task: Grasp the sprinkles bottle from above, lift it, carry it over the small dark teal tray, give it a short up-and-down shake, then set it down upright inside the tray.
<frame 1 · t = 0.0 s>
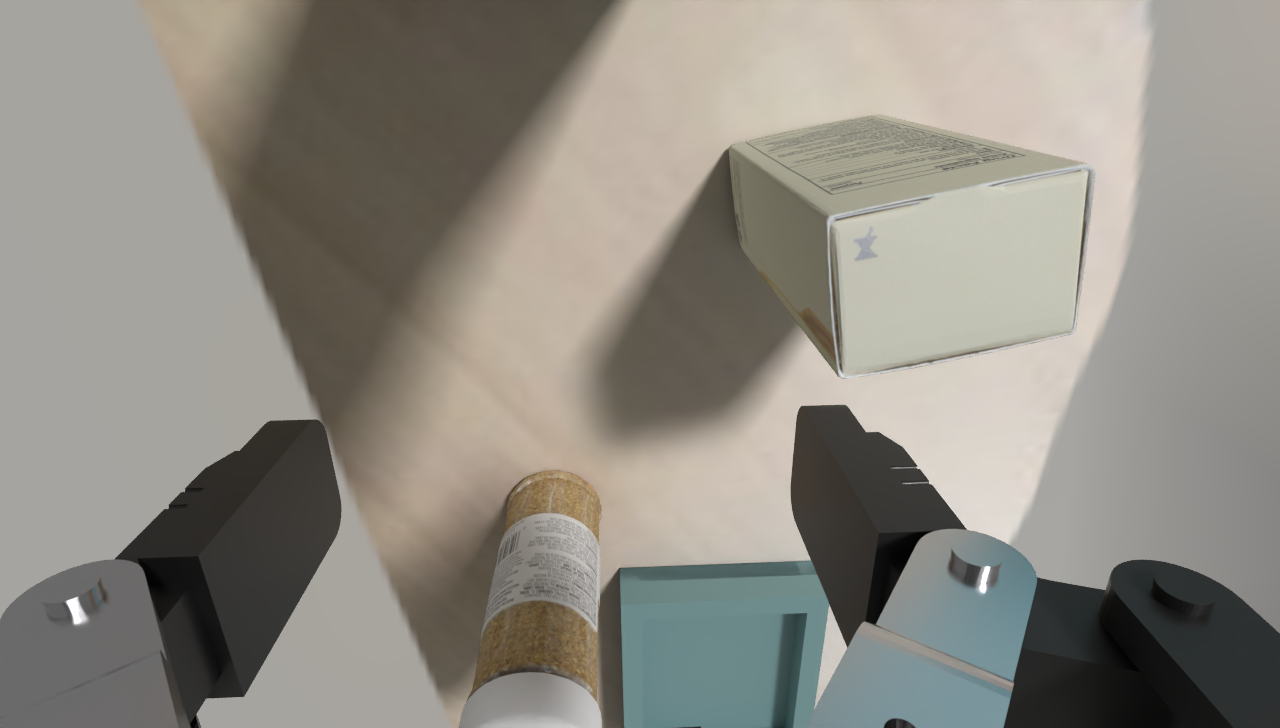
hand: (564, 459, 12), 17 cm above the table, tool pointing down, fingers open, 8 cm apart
skincare box: (811, 181, 27), on the table
tray: (713, 650, 38), on the table
sprinkles bottle: (555, 502, 33), on the table
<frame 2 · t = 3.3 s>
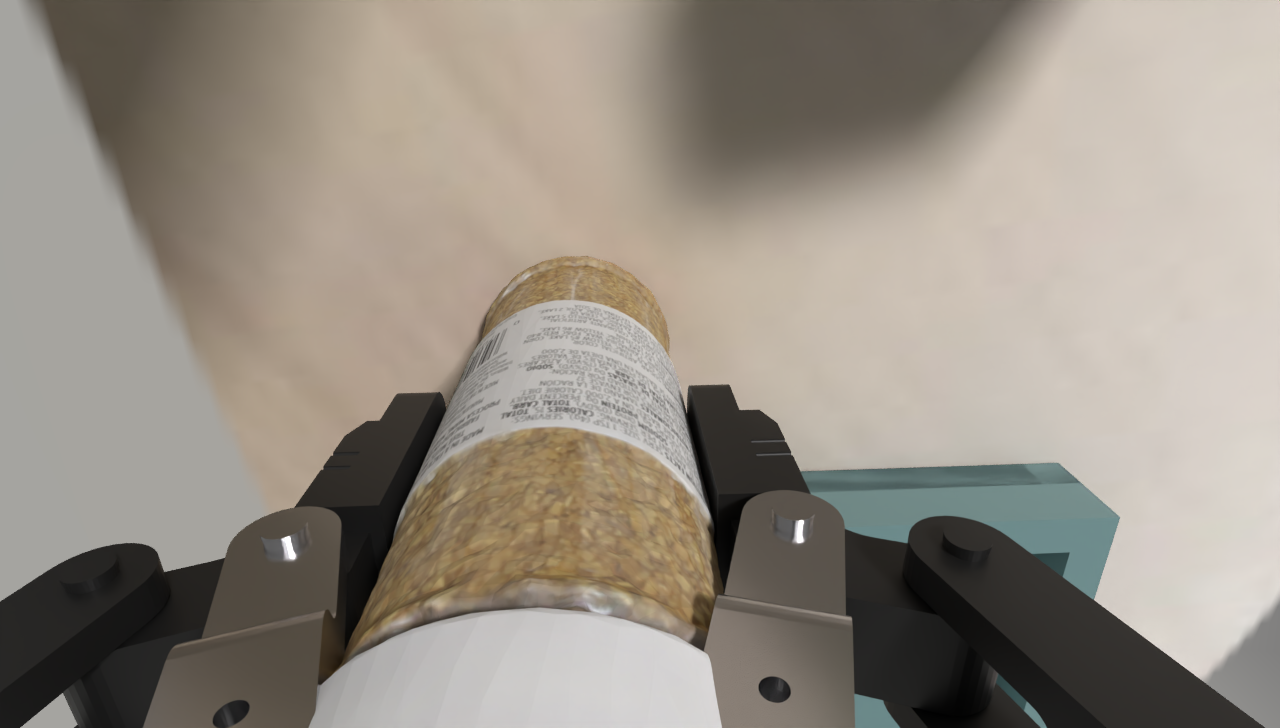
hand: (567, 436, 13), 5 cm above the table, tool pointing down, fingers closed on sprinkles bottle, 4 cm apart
tray: (854, 636, 21), on the table
sprinkles bottle: (578, 336, 17), on the table, touching gripper
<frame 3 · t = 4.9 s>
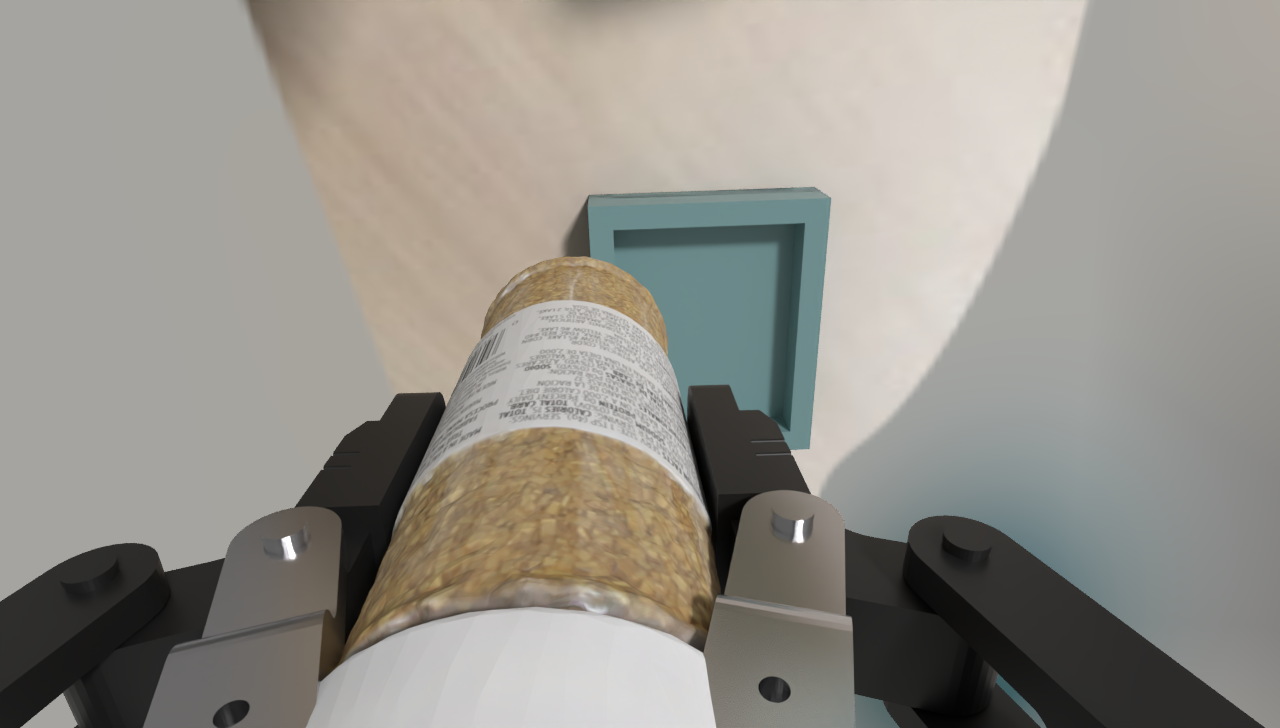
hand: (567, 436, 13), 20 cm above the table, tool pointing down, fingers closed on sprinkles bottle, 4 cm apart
tray: (700, 318, 33), on the table
sprinkles bottle: (576, 336, 17), point 15 cm above the table, touching gripper
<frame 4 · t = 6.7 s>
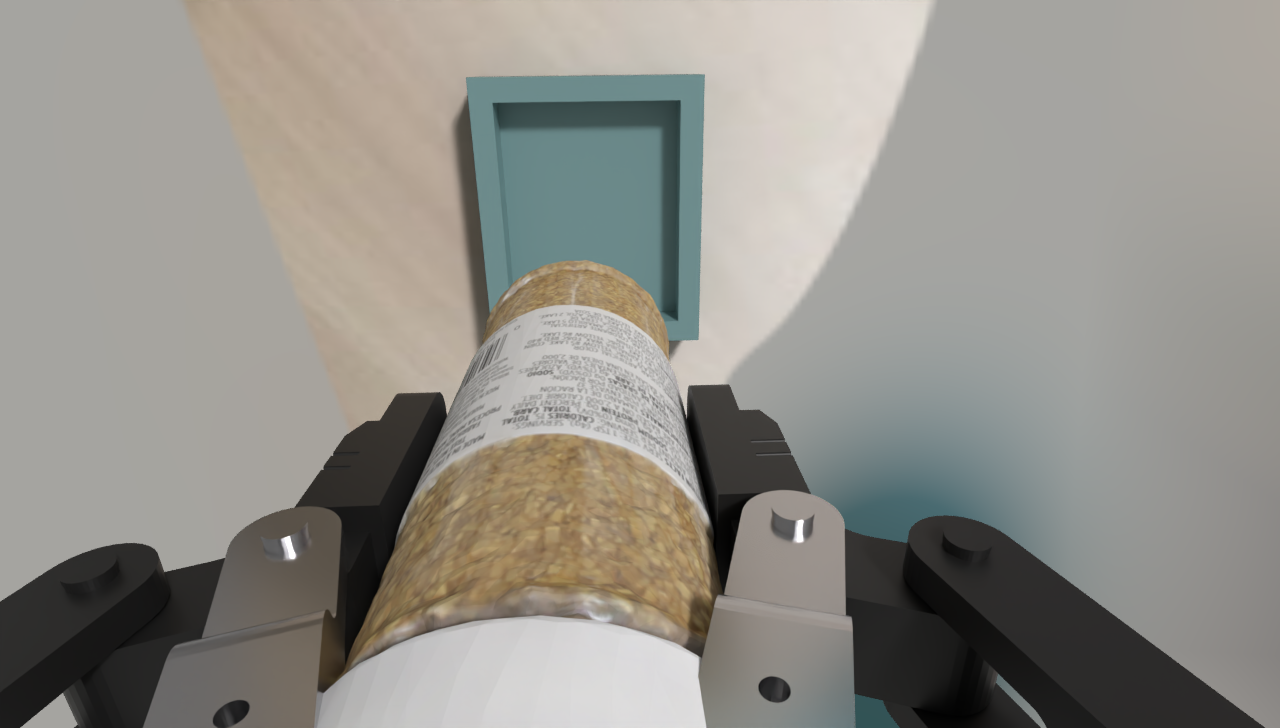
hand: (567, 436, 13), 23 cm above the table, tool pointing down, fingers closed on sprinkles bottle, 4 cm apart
tray: (592, 209, 34), on the table
sprinkles bottle: (578, 340, 17), point 18 cm above the table, touching gripper
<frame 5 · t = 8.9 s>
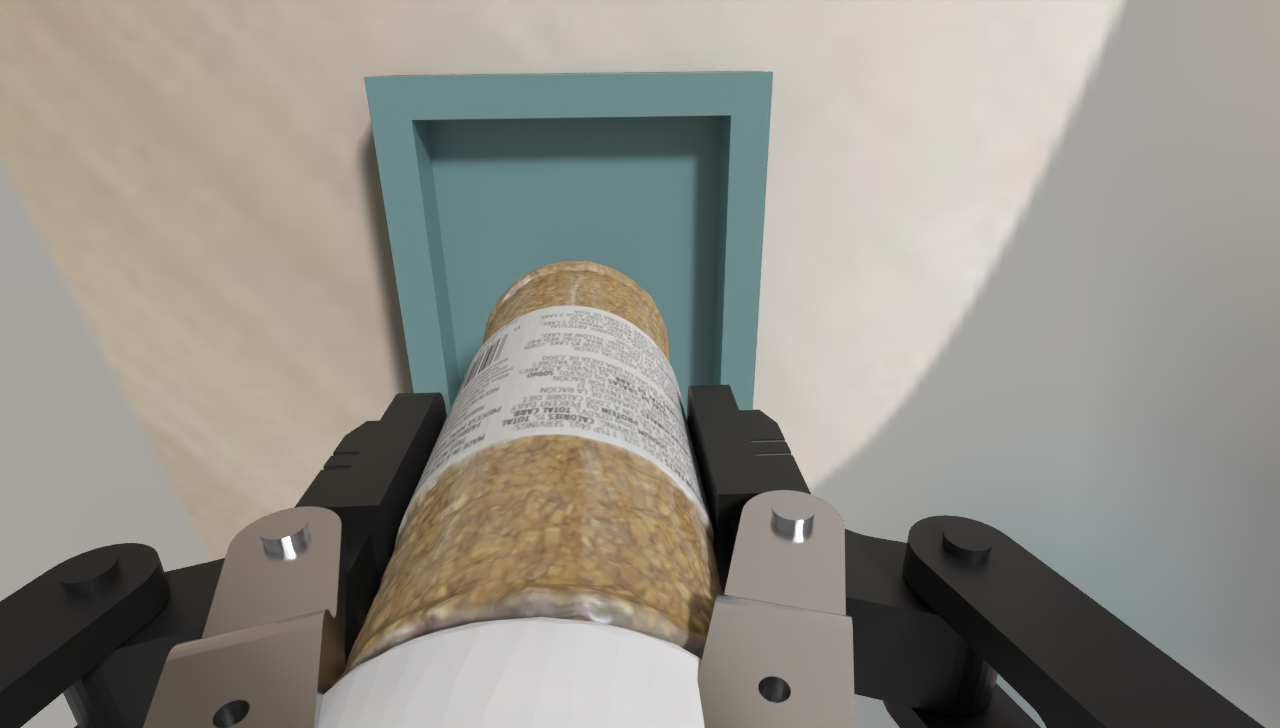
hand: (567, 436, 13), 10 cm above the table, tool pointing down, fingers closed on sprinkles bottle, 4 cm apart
tray: (584, 281, 22), on the table
sprinkles bottle: (578, 340, 17), point 5 cm above the table, touching gripper
when the fingers open (7 cm above the table, at t = 10.5 s): sprinkles bottle stays where it is, resting on tray.
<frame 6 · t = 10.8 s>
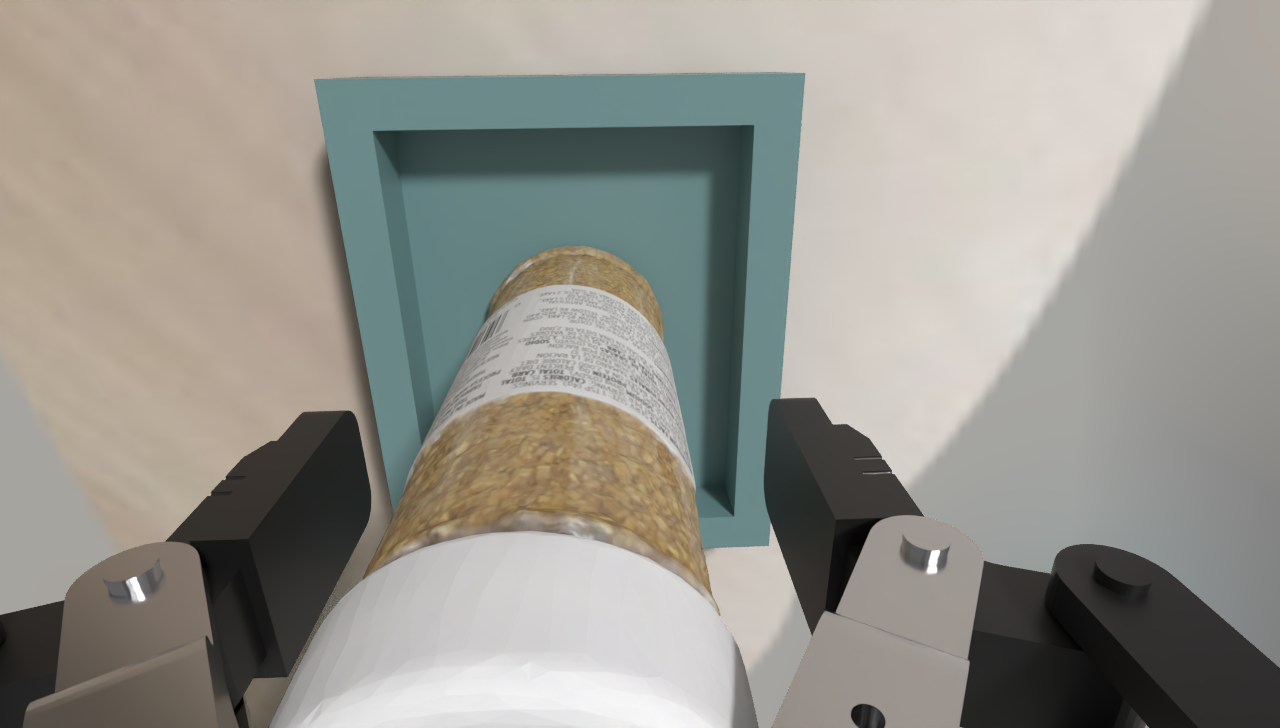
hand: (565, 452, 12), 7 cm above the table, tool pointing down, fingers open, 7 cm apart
tray: (580, 314, 19), on the table
sprinkles bottle: (577, 323, 18), point 1 cm above the table, touching tray
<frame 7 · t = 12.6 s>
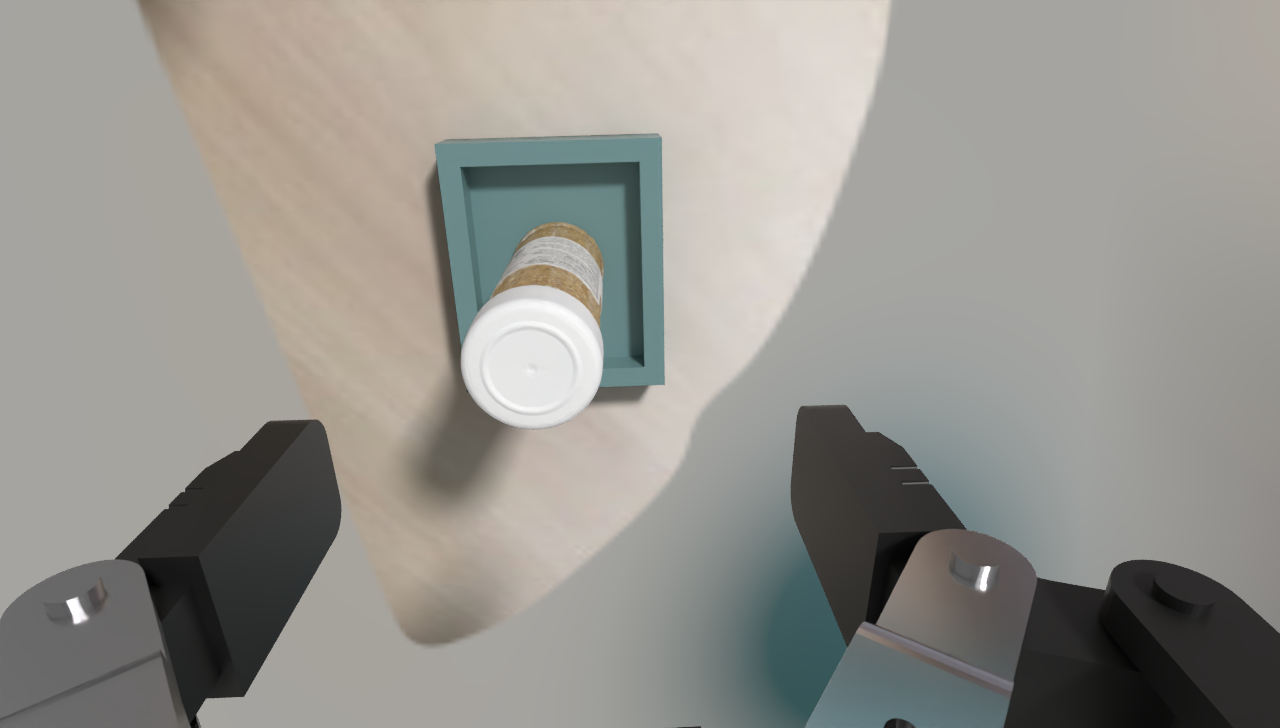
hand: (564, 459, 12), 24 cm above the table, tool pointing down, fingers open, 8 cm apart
tray: (561, 260, 35), on the table
sprinkles bottle: (559, 263, 34), point 1 cm above the table, touching tray
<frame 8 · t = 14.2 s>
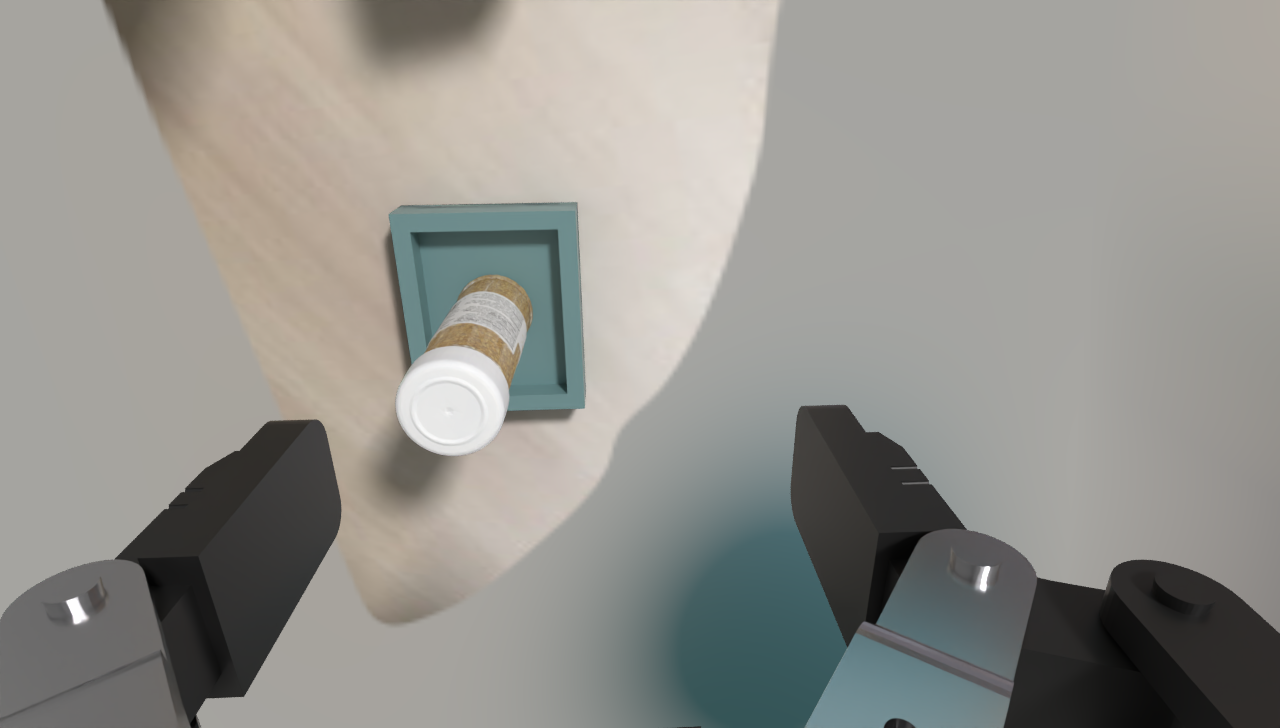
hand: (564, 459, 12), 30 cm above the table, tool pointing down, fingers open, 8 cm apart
tray: (499, 303, 42), on the table
sprinkles bottle: (496, 307, 41), point 1 cm above the table, touching tray
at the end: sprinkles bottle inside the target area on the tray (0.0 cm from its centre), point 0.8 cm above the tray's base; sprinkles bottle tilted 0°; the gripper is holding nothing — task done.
